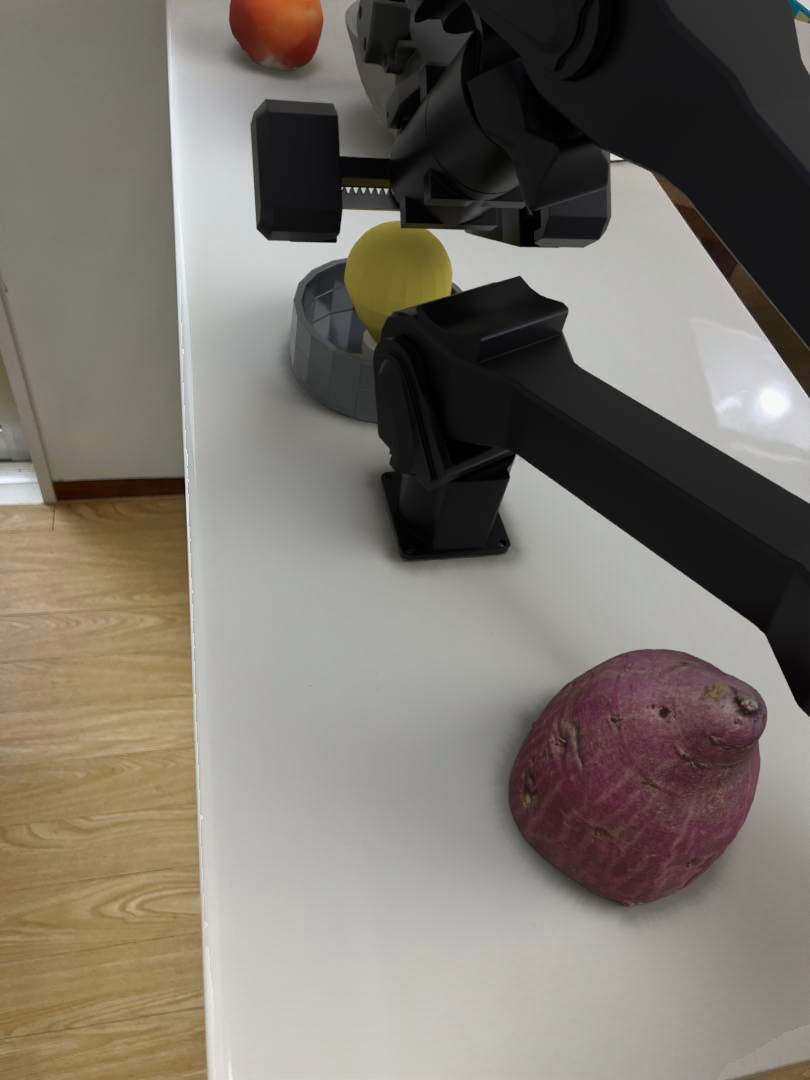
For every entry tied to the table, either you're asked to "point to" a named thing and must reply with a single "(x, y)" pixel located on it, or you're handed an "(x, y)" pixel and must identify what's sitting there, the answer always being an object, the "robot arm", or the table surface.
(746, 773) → the vegetable
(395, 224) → the light bulb
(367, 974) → the table surface
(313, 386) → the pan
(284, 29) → the red apple
